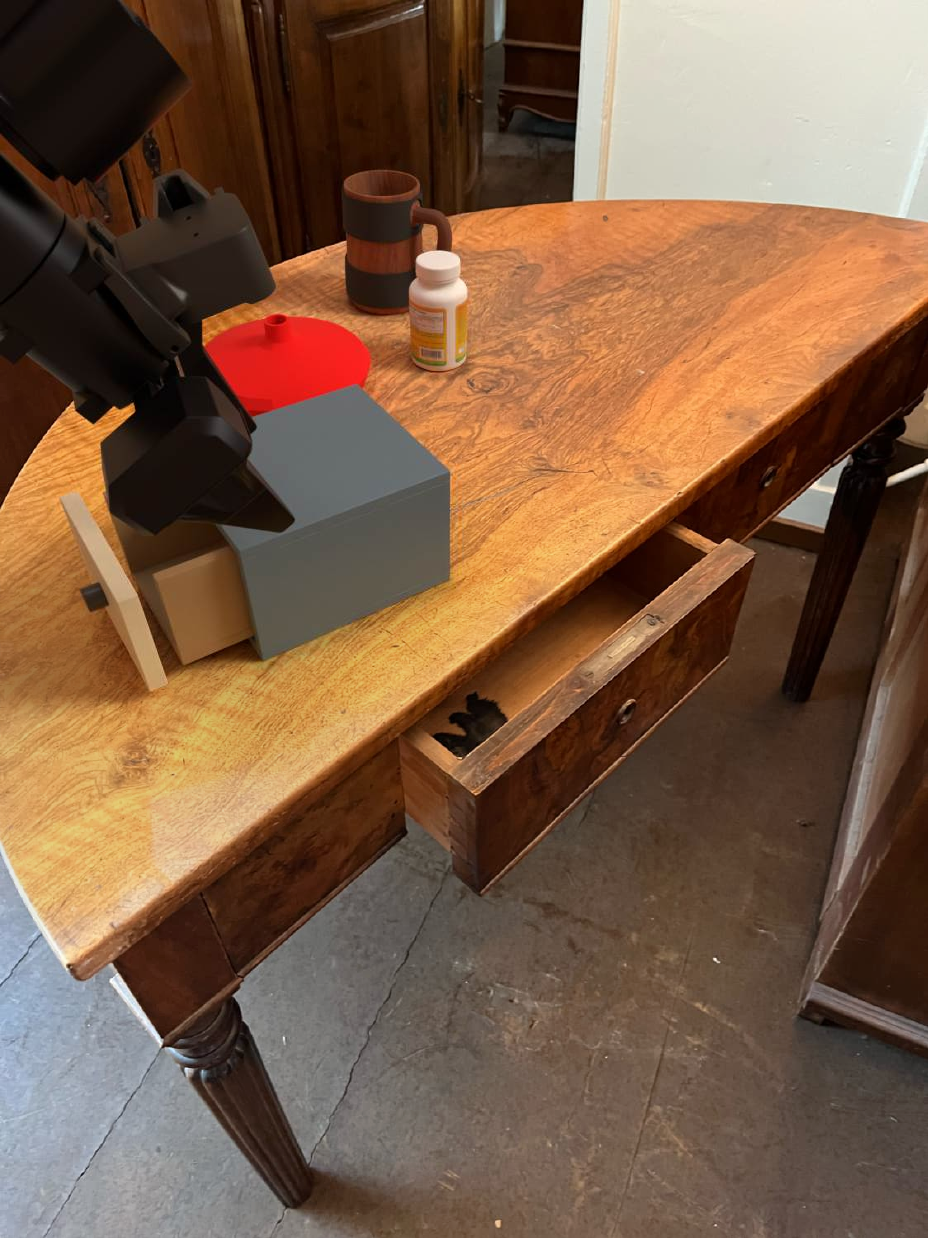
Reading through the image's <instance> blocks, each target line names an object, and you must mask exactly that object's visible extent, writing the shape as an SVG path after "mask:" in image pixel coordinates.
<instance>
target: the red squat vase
mask: <svg viewBox="0 0 928 1238" xmlns="http://www.w3.org/2000/svg"><path fill="white" fill-rule="evenodd" d="M203 346H204V347H205V349H206V350H207V352H208V353H209V355H210V357H211V358H212V360H213V361H214V363H215V364H216V365H217V367H218V368H219V370H220V371H221V373H222V374H223V376H224V377H225V379H226V380H227V382H228V383H229V385H230V386H231V388H232V389H233V390H234V392H235V393H236V395H237V396H238V398H239V399H240V401H241V402H242V404H243V405H244V407H245V408H246V410H247V411H248V412H249V414H250V415H251V417H254V416H257V415H260V414H263V413H267V412H270V411H273V410H276V409H279V408H282V407H285V406H289V405H292V404H295V403H298V402H301V401H304V400H307V399H311V398H314V397H317V396H320V395H323V394H326V393H330V392H333V391H336V390H339V389H342V388H345V387H348V386H352V385H355V384H357V385H358V386H359V387H360V388H362V389H363V388H364V386H365V384H366V381H367V379H368V375H369V372H370V368H371V366H372V358H371V352H370V350H369V349H368V347H367V346H366V345H365V343H364V342H363V341H362V340H361V339H360V338H359V337H358V336H357V335H356V334H355V333H353V332H352V331H350V330H348V329H347V327H344V326H342V325H340V324H337V323H334V322H332V321H330V320H325V319H320V318H315V317H308V316H295V315H289V316H288V315H287V314H282V313H273V314H269V315H267V316H265V317H264V318H260V319H255V320H250V321H246V322H244V323H240V324H238V325H235V326H231V327H230V328H227V329H226V330H224V331H222V332H220V333H219V334H217V335H215V336H214V337H213V338H212V339H210V340H209V341H208V342H207V343H206V344H205V345H203Z"/></svg>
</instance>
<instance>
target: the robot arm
mask: <svg viewBox="0 0 928 1238" xmlns="http://www.w3.org/2000/svg"><path fill="white" fill-rule="evenodd" d="M192 88H194V84H193V83H192V81H191V80H190V78H189V77H188V75H187V74H186V73H185V71H184V70H183V68H181V66H180V65H179V63H178V62H177V61H176V60H175V59H174V57H173V56H172V55H171V53H170V52H169V51H168V49H167V48H166V47H165V46H164V45H163V43H162V42H161V41H160V40H159V38H158V37H157V36H156V35H155V33H154V32H153V31H152V30H151V28H150V27H149V26H148V24H146V22H145V21H144V20H143V19H142V17H141V16H140V15H139V14H138V13H136V11H135V10H134V9H132V7H130V6H129V5H128V4H127V3H126V2H125V1H124V0H0V135H1V136H2V137H3V138H4V139H5V140H6V142H7V143H9V144H10V146H11V147H13V149H15V151H16V152H17V153H19V154H20V155H21V156H22V158H24V159H25V160H26V161H27V162H28V163H29V164H31V166H32V167H34V168H35V169H36V170H37V171H38V172H39V173H40V174H41V175H43V176H45V177H46V178H47V179H48V180H50V181H52V182H53V183H58V182H59V180H60V179H61V178H62V177H63V178H64V179H65V180H67V182H69V183H70V184H72V185H73V186H74V187H76V186H77V185H78V184H80V182H81V181H82V180H84V179H86V180H87V181H88V182H90V183H91V184H93V185H97V184H99V182H100V181H102V179H104V177H105V176H106V175H108V173H109V172H110V171H111V170H112V169H114V167H115V166H116V165H117V164H118V163H119V162H120V161H121V160H122V159H123V158H124V157H125V156H126V155H127V154H128V153H130V151H131V150H132V149H133V148H134V147H135V146H137V144H138V143H139V142H140V141H141V140H142V139H143V138H144V137H145V136H146V135H147V134H148V133H149V132H150V131H151V130H152V129H153V128H154V127H155V126H156V125H157V124H158V123H159V122H160V121H161V120H162V119H163V118H164V117H165V116H166V115H167V114H168V113H169V112H170V111H171V110H172V109H173V108H174V107H175V106H176V105H177V104H178V103H179V101H181V100H182V99H183V98H184V96H186V95H187V94H188V93H189V91H191V90H192ZM213 193H214V195H211V194H210V193H209V191H208V190H207V189H205V188H204V187H203V186H202V185H201V184H200V183H199V182H198V181H197V180H196V179H195V178H194V177H193V176H191V174H189V173H188V172H186V170H185V169H183V168H177V169H174V170H172V171H169V172H167V173H164V174H161V175H159V176H157V177H154V178H153V179H152V216H153V219H150V218H149V216H148V215H145V216H143V217H140V218H139V222H140V224H141V225H140V226H138V227H137V228H135V229H133V230H131V231H128V232H126V233H124V234H122V235H120V236H118V237H117V236H115V234H114V233H112V232H111V231H110V230H109V229H108V228H107V227H106V226H105V225H104V224H103V223H102V222H100V220H98V219H97V218H96V217H95V216H92V217H91V218H90V219H88V218H87V217H86V216H85V215H84V214H83V213H82V212H81V213H80V214H79V215H78V216H77V217H76V218H75V219H74V218H73V217H72V216H70V214H68V213H67V212H66V211H65V210H64V209H62V208H61V206H60V205H58V204H57V203H56V201H54V200H53V199H52V198H51V196H49V195H48V194H47V193H46V192H45V191H43V190H42V188H41V187H39V186H38V185H37V183H35V181H33V180H32V179H31V178H30V177H29V176H28V175H27V174H26V173H25V172H23V171H22V169H20V168H19V167H18V166H17V165H16V164H15V163H14V162H13V161H12V160H11V159H10V158H9V157H7V155H6V154H4V153H3V151H1V150H0V355H1V356H2V357H3V358H4V359H6V360H7V361H9V362H10V363H11V364H13V365H16V364H17V363H18V362H19V361H20V360H21V359H22V358H24V357H25V355H26V356H27V357H28V358H30V359H31V360H32V361H34V362H35V363H36V364H38V365H39V366H40V367H41V368H42V369H44V370H45V371H47V372H48V373H49V374H50V375H52V376H53V377H54V378H56V379H57V380H58V381H60V382H61V383H62V384H63V385H65V386H66V387H67V388H68V389H70V390H71V392H72V399H73V405H74V411H75V412H76V413H77V414H78V415H80V416H81V417H82V418H84V419H85V420H87V421H88V422H89V423H90V424H92V425H95V424H96V423H97V422H99V421H100V420H101V419H102V418H103V417H104V416H106V415H107V413H109V411H111V410H112V409H113V408H116V409H117V410H119V411H121V410H123V409H125V408H127V407H129V406H130V405H132V404H133V407H134V411H133V413H132V414H131V415H129V417H127V418H126V419H125V420H124V421H123V422H121V423H120V425H118V426H117V427H116V428H115V429H114V430H113V431H111V432H110V433H109V435H106V437H105V438H104V439H103V440H102V441H100V442H99V446H100V459H101V470H102V476H103V482H104V487H105V491H106V494H107V499H108V505H109V510H108V512H109V511H110V513H111V514H112V515H114V516H115V517H117V518H118V519H120V520H121V521H123V522H124V523H126V524H127V525H129V526H130V527H131V528H133V529H134V530H136V531H137V532H139V533H140V534H142V535H143V536H156V535H157V534H158V533H159V532H160V531H162V530H163V529H164V528H167V527H169V526H170V525H171V524H173V523H174V522H175V521H178V522H197V523H211V524H219V525H227V526H234V527H241V528H247V529H254V530H261V531H268V532H275V533H282V532H284V531H285V530H286V529H288V528H289V527H290V526H291V525H292V524H294V522H295V518H294V515H293V514H292V513H291V511H290V510H289V509H288V507H287V506H286V505H285V504H284V502H283V501H282V500H281V498H280V497H279V496H278V495H277V494H276V492H275V491H274V490H273V489H272V488H271V486H270V485H269V484H268V483H267V481H266V480H265V479H264V478H263V477H262V475H261V474H260V473H259V472H258V471H257V469H256V468H255V467H254V466H253V464H252V463H251V462H250V461H249V460H248V457H249V455H250V454H251V451H252V437H251V434H252V433H253V432H254V431H255V430H256V429H257V425H256V423H255V421H254V420H253V418H252V417H251V415H250V414H249V412H248V411H247V410H246V408H245V407H244V405H243V404H242V402H241V401H240V399H239V398H238V396H237V395H236V393H235V392H234V390H233V389H232V388H231V386H230V385H229V383H228V382H227V380H226V379H225V377H224V376H223V374H222V373H221V371H220V370H219V368H218V367H217V365H216V364H215V363H214V361H213V360H212V358H211V357H210V355H209V353H208V352H207V350H206V349H205V347H204V346H205V345H204V343H203V341H204V340H203V321H204V320H207V319H209V318H211V317H214V316H216V315H218V314H221V313H223V312H226V311H228V310H231V309H233V308H236V307H238V306H241V305H244V304H248V305H255V304H257V303H260V302H262V301H264V300H266V299H268V298H269V297H270V296H271V295H272V294H273V293H274V292H275V290H276V288H277V283H276V281H275V278H274V277H273V274H272V271H271V269H270V266H269V264H268V260H267V259H266V256H265V253H264V250H263V248H262V247H261V244H260V241H259V239H258V236H257V234H256V232H255V229H254V226H253V225H252V221H251V219H250V217H249V215H248V213H247V212H246V210H245V208H244V207H243V205H242V202H241V201H240V199H239V198H238V196H237V195H236V194H235V193H232V192H225V191H224V189H223V187H222V186H219V187H217V188H214V189H213ZM110 513H109V514H110Z"/></svg>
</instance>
